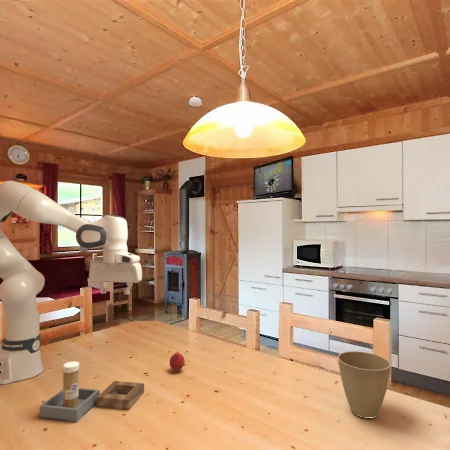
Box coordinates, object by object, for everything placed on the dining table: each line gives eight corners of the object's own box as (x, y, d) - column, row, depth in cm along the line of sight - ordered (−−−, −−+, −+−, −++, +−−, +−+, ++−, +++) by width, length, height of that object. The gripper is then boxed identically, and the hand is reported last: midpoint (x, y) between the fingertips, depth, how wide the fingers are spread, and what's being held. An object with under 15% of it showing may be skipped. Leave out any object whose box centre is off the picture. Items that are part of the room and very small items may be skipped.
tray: (39, 418, 95) (39, 406, 95) (66, 397, 107) (66, 386, 107) (76, 422, 93) (76, 410, 93) (99, 400, 105) (99, 389, 105)
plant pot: (399, 413, 98) (398, 360, 99) (377, 433, 88) (377, 375, 89) (352, 394, 109) (352, 347, 110) (328, 410, 100) (328, 358, 100)
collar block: (96, 406, 101) (96, 397, 101) (114, 389, 112) (114, 380, 112) (129, 410, 99) (129, 400, 100) (144, 392, 110) (144, 383, 110)
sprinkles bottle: (70, 413, 97) (70, 367, 97) (59, 409, 99) (59, 365, 99) (82, 405, 101) (82, 362, 101) (71, 402, 103) (71, 359, 103)
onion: (181, 375, 123) (181, 354, 123) (167, 374, 124) (167, 353, 124) (186, 369, 129) (186, 348, 129) (172, 367, 130) (172, 347, 130)
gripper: (85, 257, 122) (85, 294, 121) (136, 258, 118) (136, 296, 118) (95, 256, 128) (94, 291, 128) (143, 257, 124) (143, 293, 124)
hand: (115, 293), depth 123 cm, fingers open, 8 cm apart
